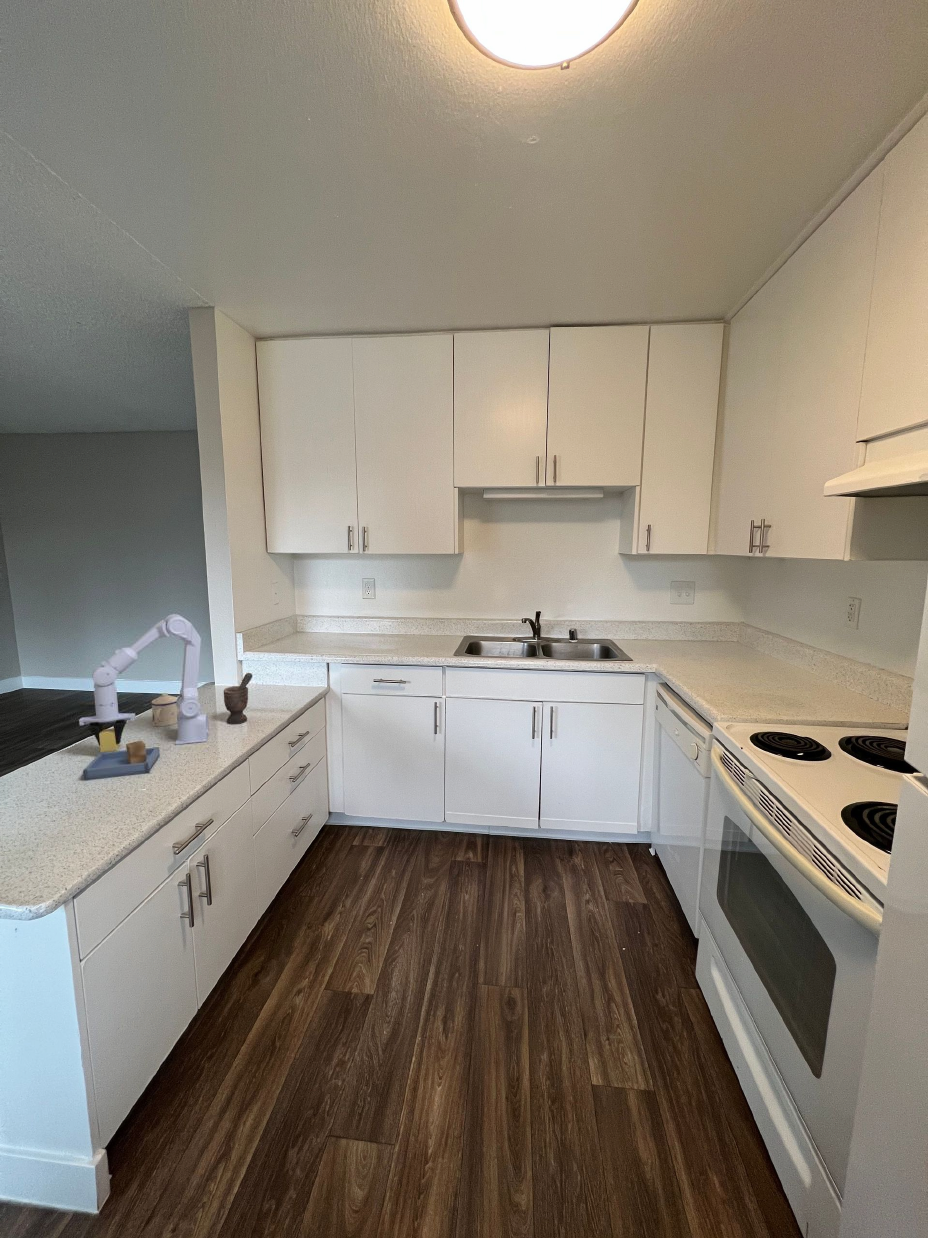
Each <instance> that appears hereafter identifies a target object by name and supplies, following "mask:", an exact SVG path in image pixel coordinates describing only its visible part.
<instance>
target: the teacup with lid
mask: <svg viewBox="0 0 928 1238" xmlns="http://www.w3.org/2000/svg"><path fill="white" fill-rule="evenodd" d="M177 699H178V697H177V696H172V695H170V694H169V693H167V692H163V693H161V695H160V696H158V697H157V698H155V699H153V700H151V702H150V705H151V710H152V711H151V712H152V713H151V714H152V725H153V726H155V727H168V725H169V726H172V725H177V714H178V713H179V711H180V710H179V709H178V707H177V706H176V701H177Z"/></svg>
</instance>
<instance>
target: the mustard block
mask: <svg viewBox="0 0 928 1238" xmlns="http://www.w3.org/2000/svg"><path fill="white" fill-rule="evenodd" d="M99 738H100V746H99V747H100V753H104V752H114V751H118V748H120V746H121V745H120V743H121V742H120V743H119V744H116V736H115V730H114V728H106V729H104V728H103V731H102V732H101V733H99Z"/></svg>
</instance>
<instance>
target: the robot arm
mask: <svg viewBox="0 0 928 1238" xmlns="http://www.w3.org/2000/svg"><path fill="white" fill-rule="evenodd" d="M169 634H170V635H172V636H174V637H176V638H179V639H180V640H181V641H182V642H183V643H184V648H183V663H182V672H181V673H182V677H181V687H180V691H179V695H178V697H177V698H178V699H177V701H176V706H177V707H178V709H179V713H178V714H177V723H176V726H177V739H176V741H175V743H174V745H182V744H183V745H184V744H194V743H202V742H203V743H204V742H206V741H207V740H208V738H209V736H210V726H209V714H208V713H201V703H200V702H199V692H198V691H199V690H198V682H199V670H200V669H199V667H200V656H201V642H202V640H201V636H200V634H199V633H198V632H197V630H196V629H195V627H194V625H193V624H192V623H191V622H190V621H188V620H187V619H186V618H184V617H183V616H182V615H180V614H176V613H172V614H170V615H168V616H166V617H165V618H164V619H162V620H160V621H159V622H157V623H156V624H155V625H153V626H152V627H150V629H149V630H147V632H145V633H144V634H143V635H142V636H141V637H140V638H139V639H137V640H136V641H135V642H134V643H133V644H132V645H130V646H129V647H121V649H116V650H114V654H112V655H111V656H110V657H109V658H108V659H106V660H103V661H101V663H100V664H101V665H98V666H96V667H95V668H94V669H93V670H92V674H91V676H92V681H93V682H94V683H93V688H94V690H93V693H94V694H93V696H94V706H95V715H92V716H85V717H81V718H80V719H79V720H78V722H79V726H84V725H89V726H88V730H89V731H90V732H91V734H93V736H94V737H95V739H96V741H97V744H98V746H99V747H100V738H99V733H101V732H102V731H103V730H104V723H113V729H114V730H115V736H116V744H119V743H121V741H122V736H123V732H124V729H125V726H126V724H127V722H129V721H130V722H133V721H134V722H135V720H136V713H121V712H120V713H119V707H118V706H119V705H118V693H117V686H116V683H115V682H116V680H117V676H118V675H121V674H122V673H123V672H125V671H126V670H127V669H128V668H130V666H132V665H133V664H134V663H136V662H137V661H138V655H139V654H140V653H141V652H143V651H144V650H145V649H146V648H148V647H149V646H150V645H152V644H153V643H154V642H156V641H157V640H158V639H161V638H169V637H170V635H169Z"/></svg>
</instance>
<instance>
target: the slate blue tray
mask: <svg viewBox="0 0 928 1238" xmlns="http://www.w3.org/2000/svg"><path fill="white" fill-rule="evenodd" d="M160 750H161V749H160V747H159V746H157V747H156V746H154V747H146V760H147V761H146V762H145V763H136V764H128V763H127V750H126V749H125V750H115V751H105V752H99V753H98V754H97V755H96V756H95V757H94V758H93V759H92V761H90V763H89V764H88V765H87V766H86V767H85V768H84V769H83V771H82V775H83V781H84V782H85V781H91V780H102V779H109V778H118V777H129V776H135V775H145V774H149V773H150V772H151V770H152V769H153V767H154V766H155V764H156V763H157V761H158V760H159V758H160V757H161V754H160Z"/></svg>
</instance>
